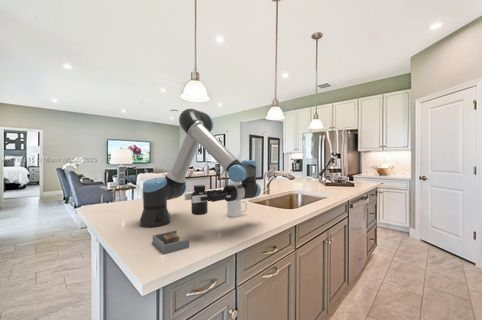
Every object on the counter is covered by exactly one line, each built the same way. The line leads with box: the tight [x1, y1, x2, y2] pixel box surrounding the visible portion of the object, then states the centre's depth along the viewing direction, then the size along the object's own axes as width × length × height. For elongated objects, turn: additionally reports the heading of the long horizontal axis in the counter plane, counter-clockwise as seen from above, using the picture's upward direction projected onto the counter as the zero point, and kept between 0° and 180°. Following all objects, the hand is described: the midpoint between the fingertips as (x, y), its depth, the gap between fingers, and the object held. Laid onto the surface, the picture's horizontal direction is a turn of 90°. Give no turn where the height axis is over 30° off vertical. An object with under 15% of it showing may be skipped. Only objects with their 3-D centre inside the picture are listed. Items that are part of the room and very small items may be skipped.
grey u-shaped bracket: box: [152, 230, 190, 255], centre depth 87 cm, size 10×14×3 cm
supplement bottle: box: [190, 184, 209, 216], centre depth 95 cm, size 7×7×12 cm
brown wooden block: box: [162, 232, 180, 245], centre depth 88 cm, size 5×5×4 cm
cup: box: [226, 199, 248, 218], centre depth 131 cm, size 8×12×10 cm
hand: (188, 198), depth 92 cm, fingers closed on supplement bottle, 7 cm apart
